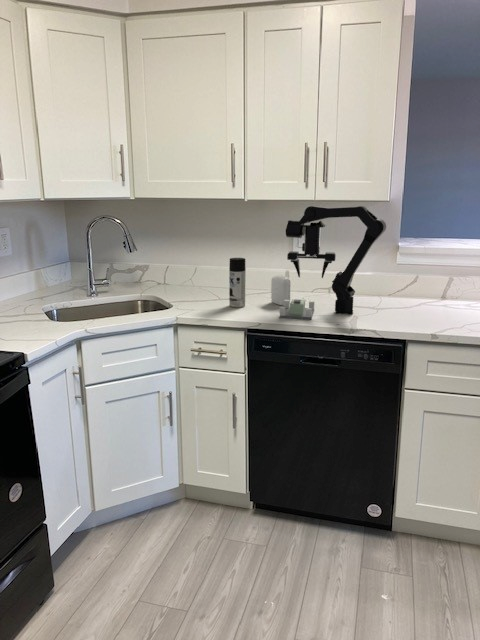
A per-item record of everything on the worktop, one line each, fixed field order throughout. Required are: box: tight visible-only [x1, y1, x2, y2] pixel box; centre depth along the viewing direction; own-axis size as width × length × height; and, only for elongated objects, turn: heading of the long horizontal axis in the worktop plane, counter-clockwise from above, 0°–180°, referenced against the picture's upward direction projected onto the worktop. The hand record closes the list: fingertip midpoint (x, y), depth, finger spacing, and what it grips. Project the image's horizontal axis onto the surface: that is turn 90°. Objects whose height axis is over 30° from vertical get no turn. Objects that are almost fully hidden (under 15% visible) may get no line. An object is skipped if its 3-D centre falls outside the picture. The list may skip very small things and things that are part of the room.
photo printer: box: [270, 274, 291, 307], centre depth 219 cm, size 10×4×12 cm, turn 29°
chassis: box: [278, 299, 315, 321], centre depth 202 cm, size 12×15×4 cm
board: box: [290, 298, 306, 315], centre depth 201 cm, size 5×9×5 cm, turn 168°
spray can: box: [228, 257, 247, 309], centre depth 213 cm, size 7×7×20 cm
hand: (310, 277), depth 208 cm, fingers open, 9 cm apart
